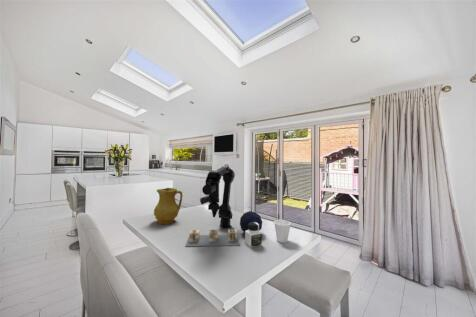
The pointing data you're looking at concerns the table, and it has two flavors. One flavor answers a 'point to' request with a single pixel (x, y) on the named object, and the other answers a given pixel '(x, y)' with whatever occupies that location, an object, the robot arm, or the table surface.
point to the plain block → (213, 236)
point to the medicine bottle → (253, 235)
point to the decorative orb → (250, 220)
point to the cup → (282, 230)
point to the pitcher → (167, 206)
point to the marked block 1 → (194, 236)
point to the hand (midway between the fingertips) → (214, 217)
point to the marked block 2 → (232, 235)
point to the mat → (205, 242)
